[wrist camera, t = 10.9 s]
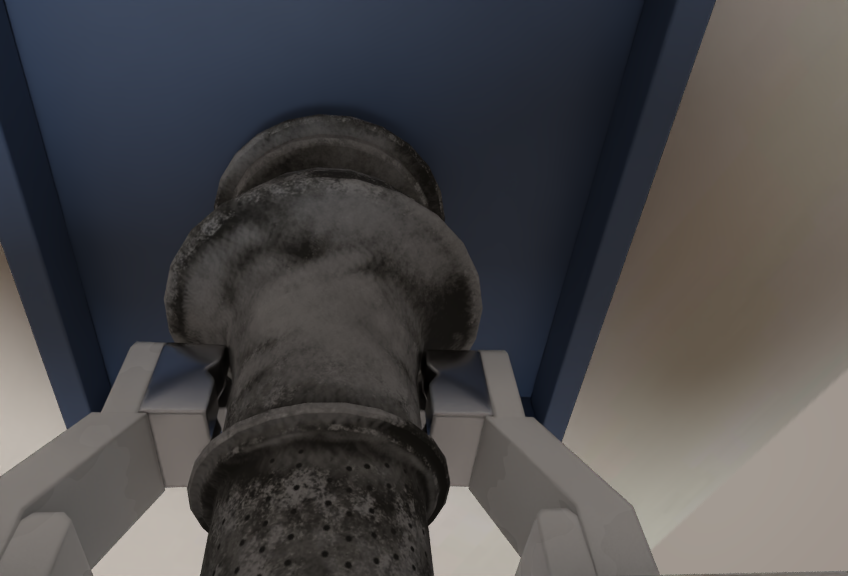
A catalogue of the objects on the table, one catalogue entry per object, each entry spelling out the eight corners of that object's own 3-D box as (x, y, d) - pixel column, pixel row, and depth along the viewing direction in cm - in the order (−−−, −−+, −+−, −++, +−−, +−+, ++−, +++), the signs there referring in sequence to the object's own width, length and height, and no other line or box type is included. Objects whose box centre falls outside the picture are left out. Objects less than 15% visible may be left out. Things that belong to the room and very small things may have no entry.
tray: (697, -91, 13) (745, -79, 11) (545, 402, 21) (559, 449, 20) (-77, -180, 11) (-152, -180, 9) (95, 397, 20) (72, 448, 18)
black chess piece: (142, 192, 14) (-331, 1055, 4) (366, 43, 12) (433, 831, 3) (307, 353, 17) (256, 1042, 7) (498, 250, 16) (741, 938, 6)
